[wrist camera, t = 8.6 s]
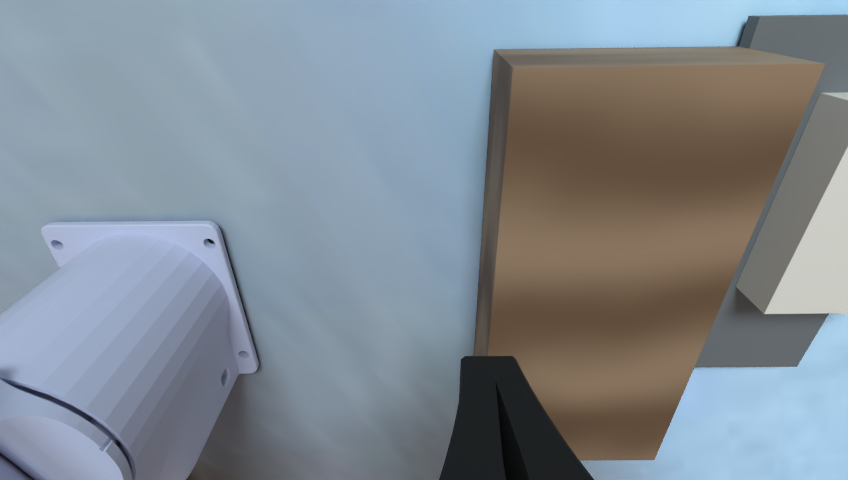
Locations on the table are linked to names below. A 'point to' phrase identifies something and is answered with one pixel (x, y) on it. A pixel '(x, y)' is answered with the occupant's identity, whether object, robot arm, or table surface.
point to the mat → (738, 317)
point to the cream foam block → (807, 224)
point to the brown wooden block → (623, 221)
